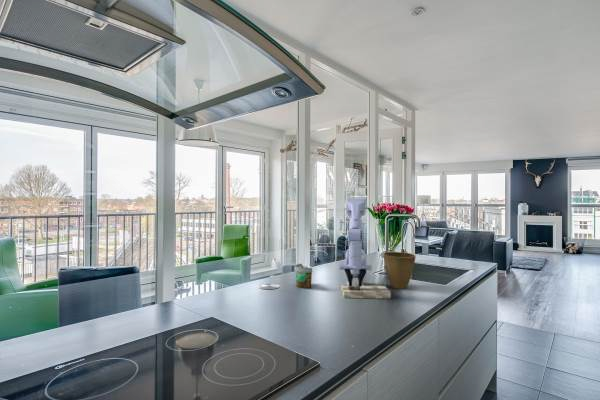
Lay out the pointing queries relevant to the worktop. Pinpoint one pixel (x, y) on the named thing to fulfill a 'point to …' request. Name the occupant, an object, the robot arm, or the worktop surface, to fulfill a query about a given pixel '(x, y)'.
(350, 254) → the robot arm
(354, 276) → the silver metal cylinder
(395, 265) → the plant pot
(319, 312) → the worktop surface
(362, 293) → the board
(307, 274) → the food container
